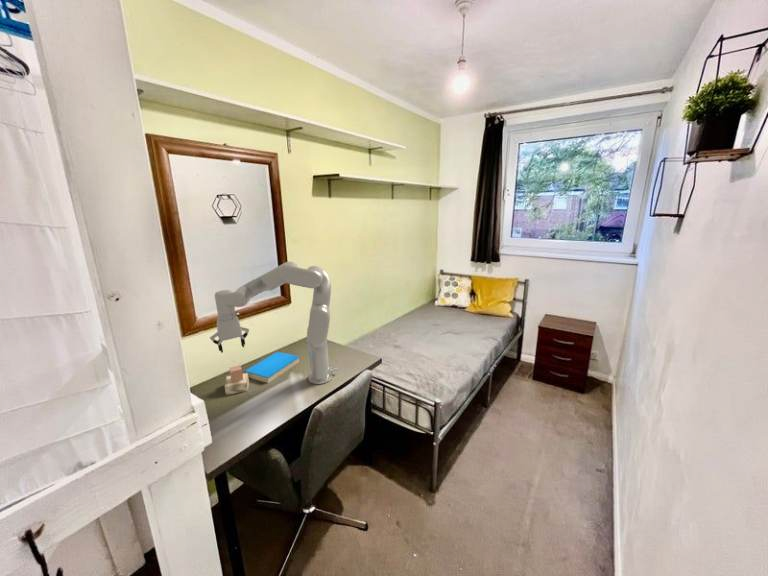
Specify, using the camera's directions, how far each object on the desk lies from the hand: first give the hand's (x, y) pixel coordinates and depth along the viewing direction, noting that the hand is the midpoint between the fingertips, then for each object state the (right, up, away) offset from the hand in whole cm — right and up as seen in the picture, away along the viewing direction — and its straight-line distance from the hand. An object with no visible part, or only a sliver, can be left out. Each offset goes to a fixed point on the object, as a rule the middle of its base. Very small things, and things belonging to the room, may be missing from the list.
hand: (232, 348), depth 158 cm
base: (0, -21, +6) cm, 22 cm away
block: (0, -16, +5) cm, 17 cm away
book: (+12, -16, +23) cm, 31 cm away
